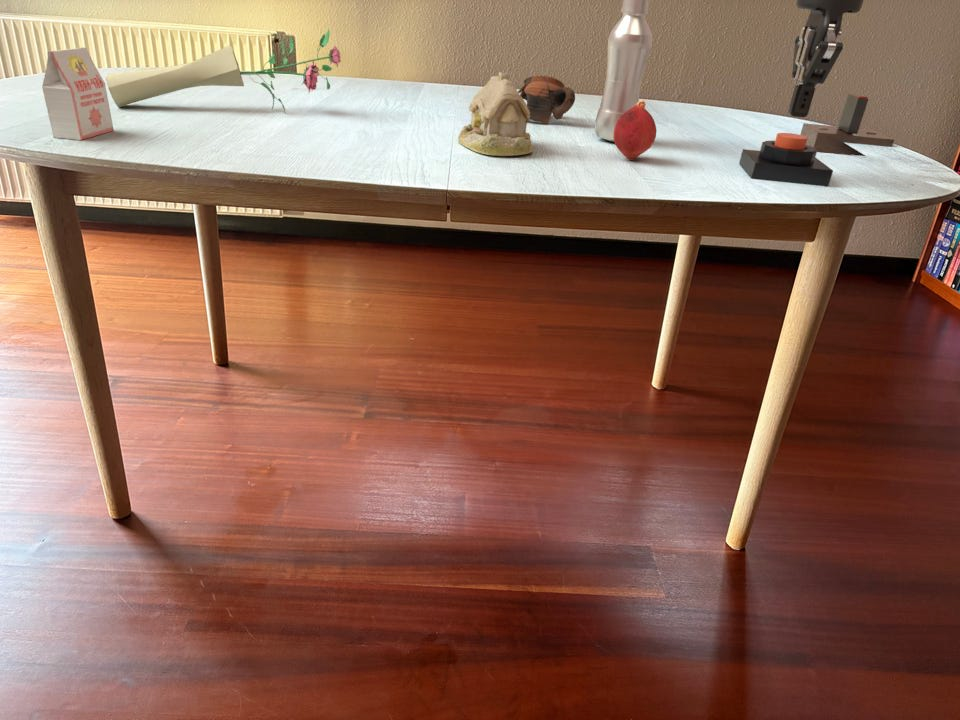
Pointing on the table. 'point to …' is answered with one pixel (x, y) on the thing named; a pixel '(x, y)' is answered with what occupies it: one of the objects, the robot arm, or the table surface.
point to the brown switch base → (842, 139)
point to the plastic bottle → (624, 66)
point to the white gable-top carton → (75, 95)
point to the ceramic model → (498, 120)
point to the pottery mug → (546, 98)
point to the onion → (635, 131)
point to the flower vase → (206, 75)
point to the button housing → (785, 165)
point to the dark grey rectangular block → (853, 113)
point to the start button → (791, 141)
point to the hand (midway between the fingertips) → (796, 115)
